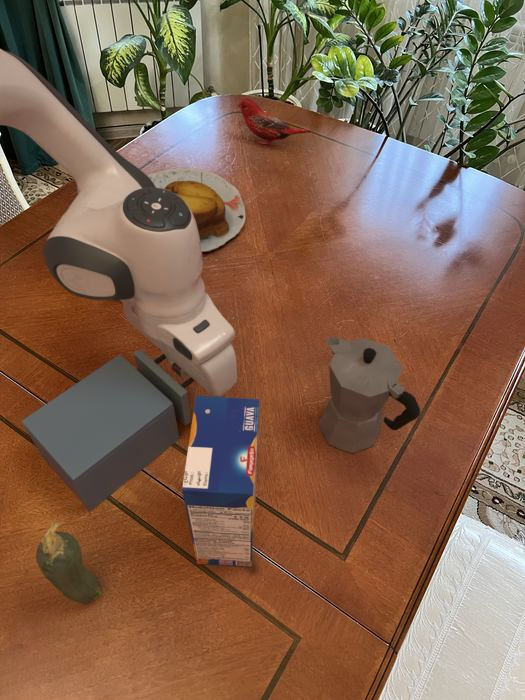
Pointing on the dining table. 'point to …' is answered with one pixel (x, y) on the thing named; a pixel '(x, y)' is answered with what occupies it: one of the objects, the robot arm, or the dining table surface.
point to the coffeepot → (362, 394)
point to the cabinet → (103, 430)
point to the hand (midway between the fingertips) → (181, 371)
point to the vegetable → (66, 566)
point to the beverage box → (222, 479)
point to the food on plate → (206, 202)
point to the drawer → (165, 384)
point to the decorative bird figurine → (265, 123)
